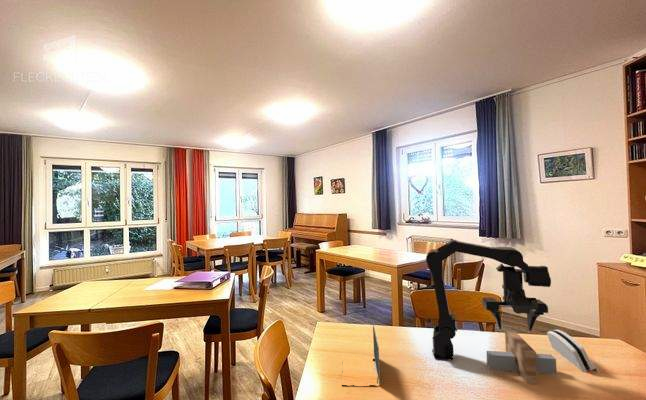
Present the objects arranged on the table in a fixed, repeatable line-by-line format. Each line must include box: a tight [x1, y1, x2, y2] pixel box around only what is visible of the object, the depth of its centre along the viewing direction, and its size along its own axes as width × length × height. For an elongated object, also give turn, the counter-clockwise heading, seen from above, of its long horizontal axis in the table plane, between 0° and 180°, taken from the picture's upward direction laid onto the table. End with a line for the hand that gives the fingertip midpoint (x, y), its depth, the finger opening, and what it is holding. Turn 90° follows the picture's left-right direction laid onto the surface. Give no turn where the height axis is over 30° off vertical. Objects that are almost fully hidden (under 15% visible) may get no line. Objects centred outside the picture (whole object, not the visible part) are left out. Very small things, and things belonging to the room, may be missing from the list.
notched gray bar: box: [486, 350, 558, 375], centre depth 100 cm, size 20×3×5 cm, turn 78°
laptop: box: [372, 324, 381, 386], centre depth 103 cm, size 18×12×13 cm
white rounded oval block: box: [546, 329, 600, 373], centre depth 105 cm, size 17×5×10 cm, turn 171°
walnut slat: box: [504, 329, 538, 385], centre depth 100 cm, size 16×3×10 cm, turn 168°
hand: (514, 329), depth 102 cm, fingers open, 9 cm apart
